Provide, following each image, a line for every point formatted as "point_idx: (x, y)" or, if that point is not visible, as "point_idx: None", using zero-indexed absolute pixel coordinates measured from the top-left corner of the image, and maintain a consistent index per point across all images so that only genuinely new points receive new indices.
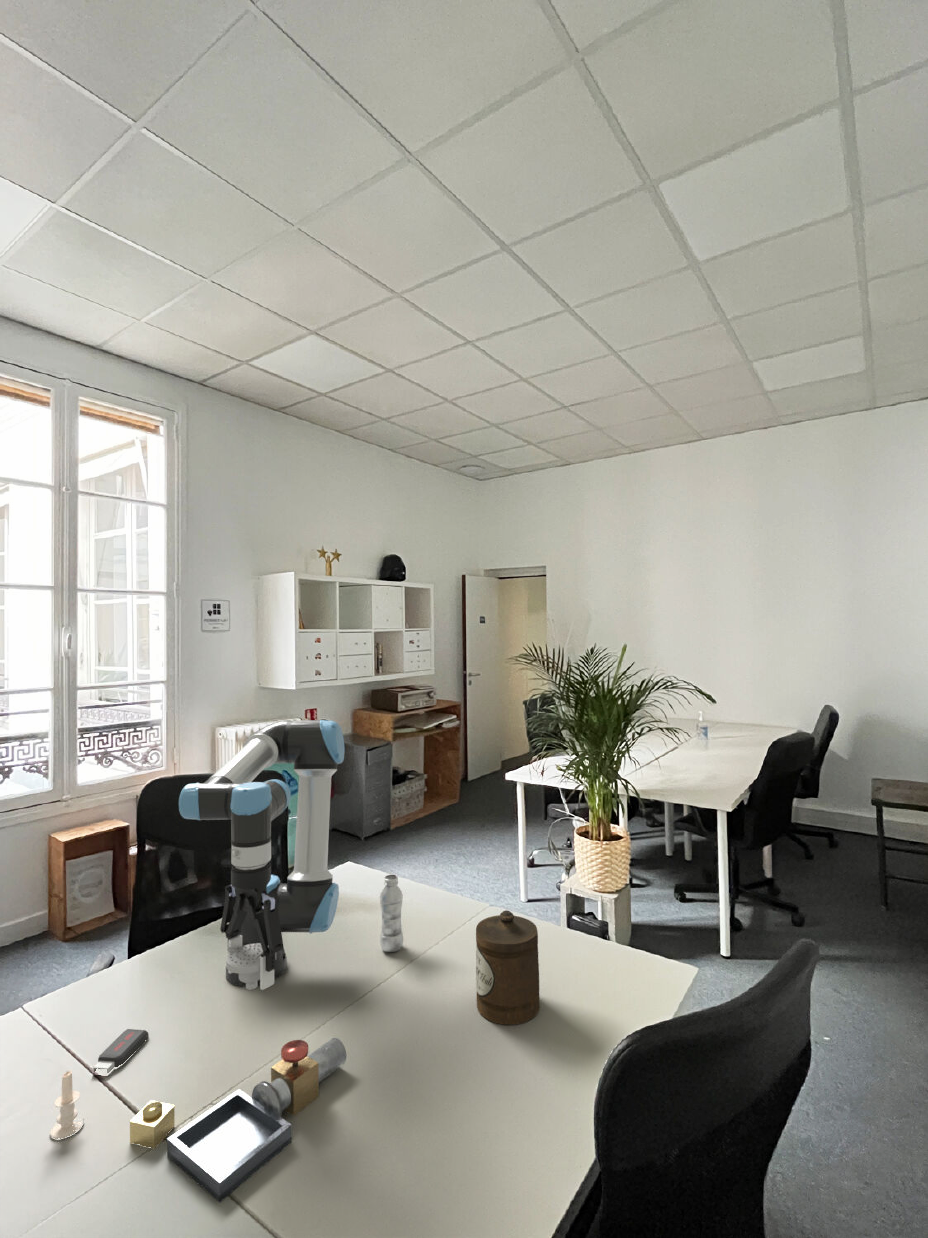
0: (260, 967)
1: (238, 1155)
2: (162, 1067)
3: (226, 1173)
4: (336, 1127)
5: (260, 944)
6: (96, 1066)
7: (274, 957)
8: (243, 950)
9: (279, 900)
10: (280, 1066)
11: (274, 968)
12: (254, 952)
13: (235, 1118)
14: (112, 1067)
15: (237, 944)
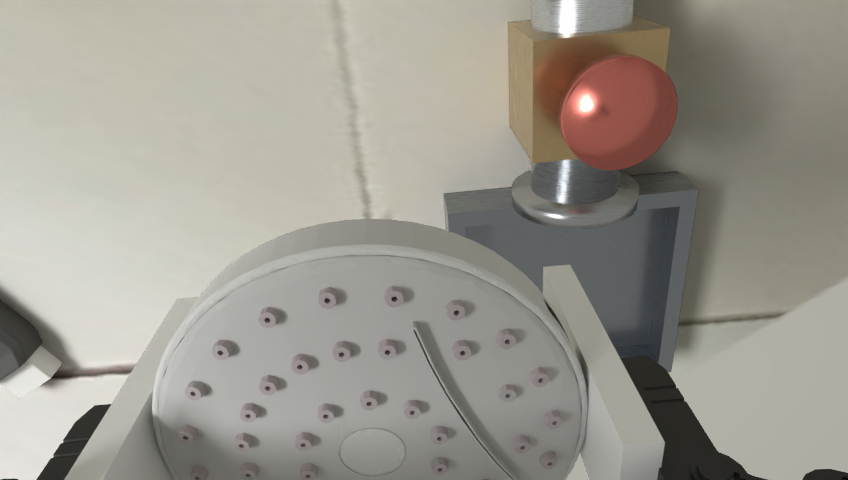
0: (581, 448)
1: (609, 287)
2: (116, 261)
3: (664, 354)
4: (757, 56)
5: (270, 329)
6: (20, 393)
7: (700, 437)
8: (277, 471)
9: None
10: (558, 139)
11: (651, 363)
12: (396, 441)
13: (500, 239)
14: (40, 359)
15: (144, 478)
